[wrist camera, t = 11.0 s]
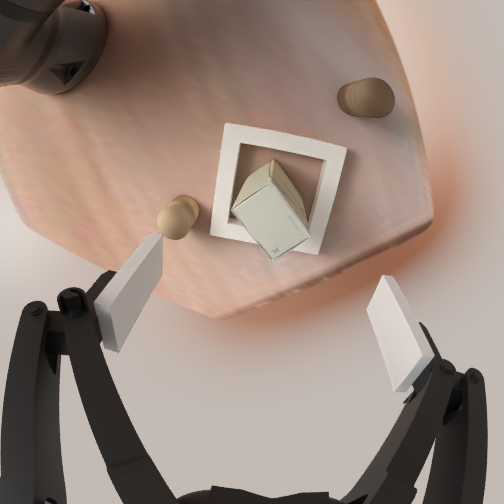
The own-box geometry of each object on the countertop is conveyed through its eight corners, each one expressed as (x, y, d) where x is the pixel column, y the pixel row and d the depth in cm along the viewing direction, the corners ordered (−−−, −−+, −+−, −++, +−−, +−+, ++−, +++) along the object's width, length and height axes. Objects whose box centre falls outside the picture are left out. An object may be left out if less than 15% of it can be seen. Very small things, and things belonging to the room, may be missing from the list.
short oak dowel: (170, 221, 38) (156, 236, 34) (171, 193, 36) (157, 205, 32) (198, 226, 38) (188, 242, 34) (201, 197, 36) (190, 210, 32)
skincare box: (302, 197, 35) (315, 238, 25) (273, 216, 37) (272, 264, 26) (273, 156, 33) (272, 179, 22) (243, 177, 35) (229, 210, 24)
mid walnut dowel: (334, 110, 30) (351, 110, 23) (340, 79, 28) (359, 72, 21) (365, 119, 30) (390, 123, 23) (371, 89, 28) (397, 85, 21)
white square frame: (212, 228, 38) (209, 235, 36) (227, 122, 32) (225, 123, 30) (316, 247, 38) (317, 255, 37) (343, 145, 32) (347, 148, 30)
